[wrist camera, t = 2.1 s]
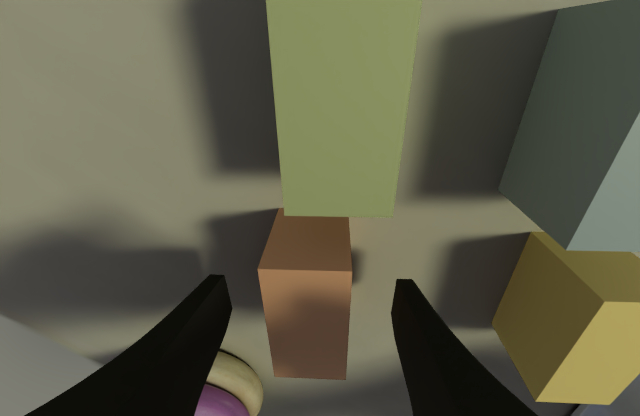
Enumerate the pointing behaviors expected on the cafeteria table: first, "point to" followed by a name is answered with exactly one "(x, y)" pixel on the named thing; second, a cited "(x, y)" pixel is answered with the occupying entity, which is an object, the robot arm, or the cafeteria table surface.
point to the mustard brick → (572, 321)
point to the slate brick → (583, 132)
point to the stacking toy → (230, 389)
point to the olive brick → (341, 101)
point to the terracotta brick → (307, 295)
